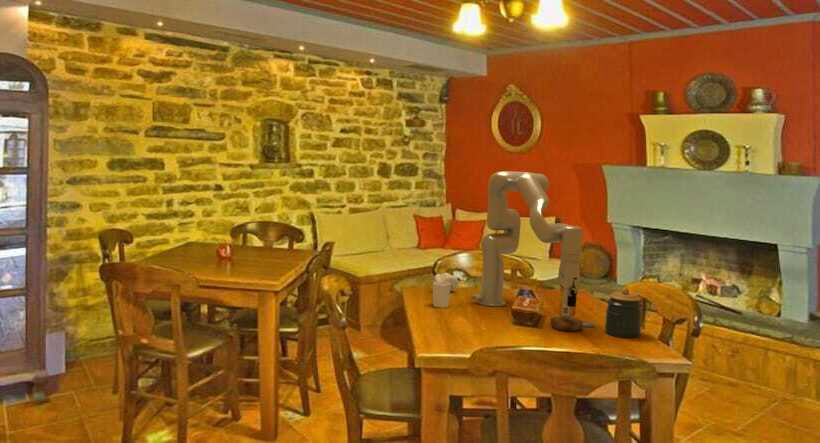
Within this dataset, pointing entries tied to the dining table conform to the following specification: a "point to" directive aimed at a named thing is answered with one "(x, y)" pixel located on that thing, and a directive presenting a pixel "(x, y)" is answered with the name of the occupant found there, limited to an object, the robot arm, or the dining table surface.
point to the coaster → (588, 324)
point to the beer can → (565, 303)
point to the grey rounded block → (447, 280)
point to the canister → (623, 314)
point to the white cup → (441, 294)
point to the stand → (566, 323)
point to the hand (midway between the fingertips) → (567, 303)
